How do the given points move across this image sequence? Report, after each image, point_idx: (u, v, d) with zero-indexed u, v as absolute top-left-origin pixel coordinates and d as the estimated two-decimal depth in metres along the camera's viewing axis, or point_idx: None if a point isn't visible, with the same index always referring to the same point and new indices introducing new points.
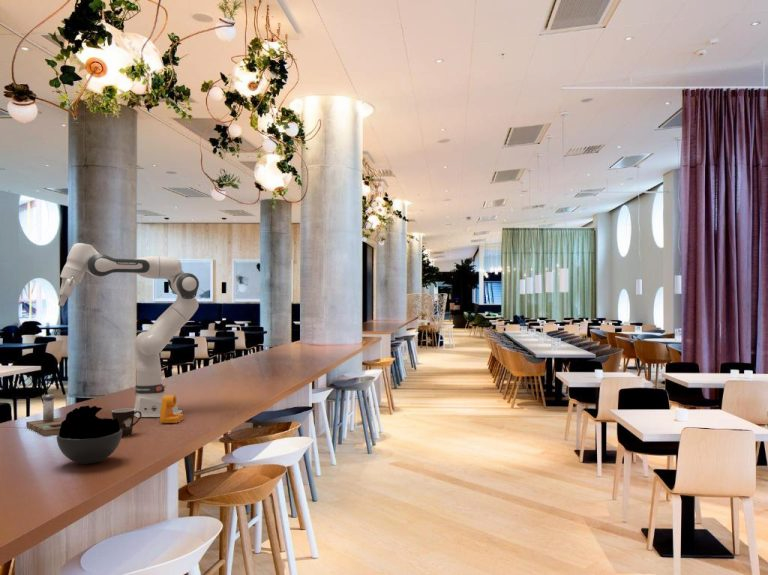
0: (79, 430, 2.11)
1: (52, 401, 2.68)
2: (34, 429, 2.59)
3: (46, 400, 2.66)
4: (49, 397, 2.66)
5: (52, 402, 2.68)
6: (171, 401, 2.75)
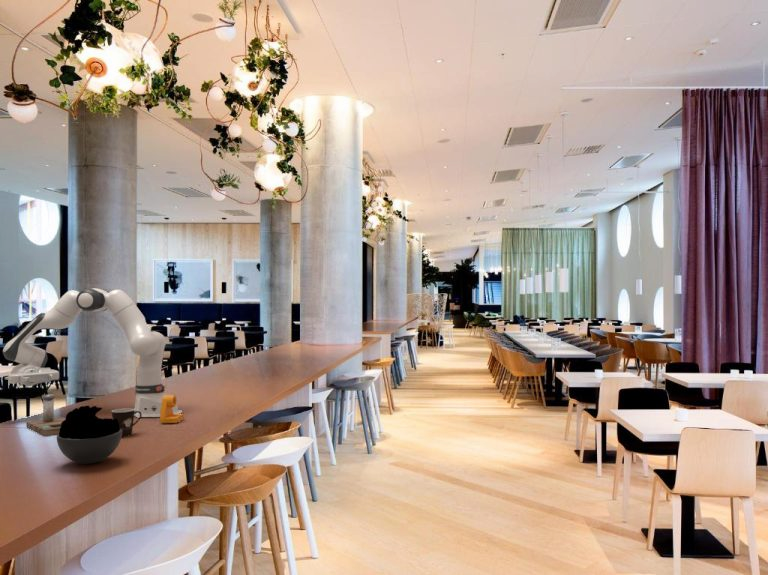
0: (79, 430, 2.11)
1: (52, 401, 2.68)
2: (34, 429, 2.59)
3: (46, 400, 2.66)
4: (49, 397, 2.66)
5: (52, 402, 2.68)
6: (171, 401, 2.75)
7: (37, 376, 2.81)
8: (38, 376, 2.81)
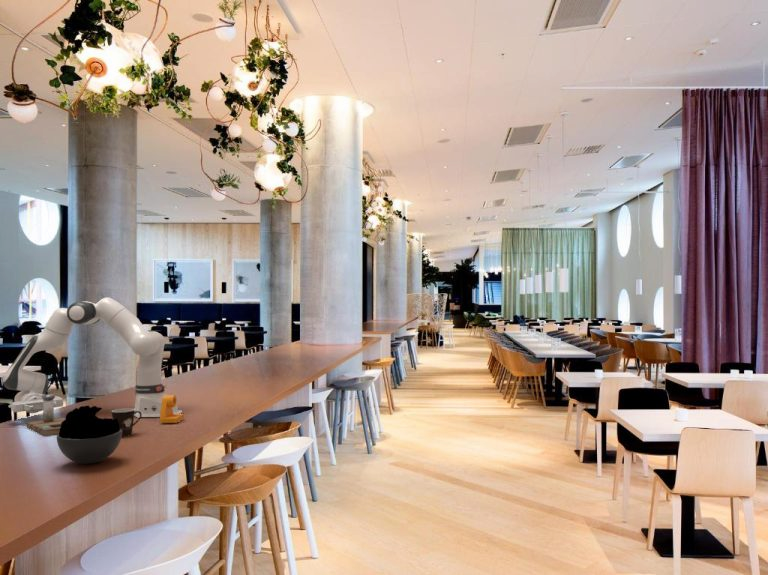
0: (79, 430, 2.11)
1: (52, 401, 2.68)
2: (34, 429, 2.59)
3: (46, 400, 2.66)
4: (49, 397, 2.66)
5: (52, 402, 2.68)
6: (171, 401, 2.75)
7: (41, 404, 2.78)
8: (42, 404, 2.78)
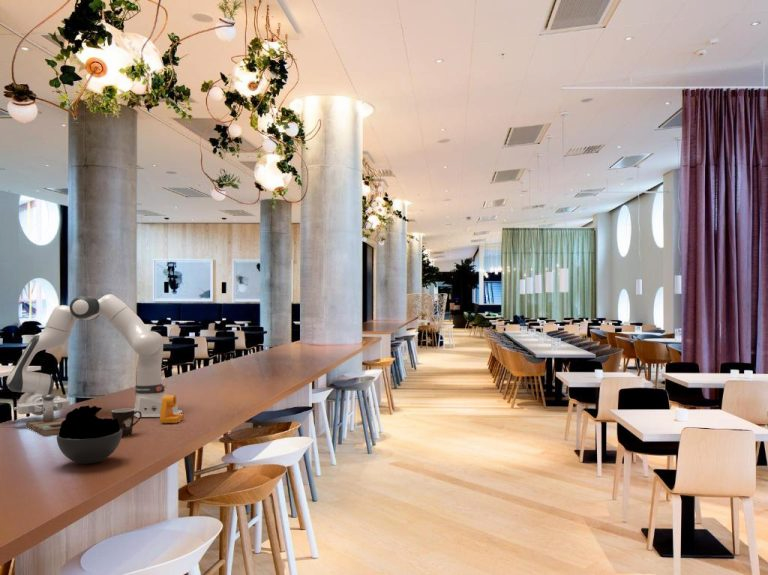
0: (79, 430, 2.11)
1: (52, 401, 2.68)
2: (34, 429, 2.59)
3: (46, 400, 2.66)
4: (49, 397, 2.66)
5: (52, 402, 2.68)
6: (171, 401, 2.75)
7: None
8: None
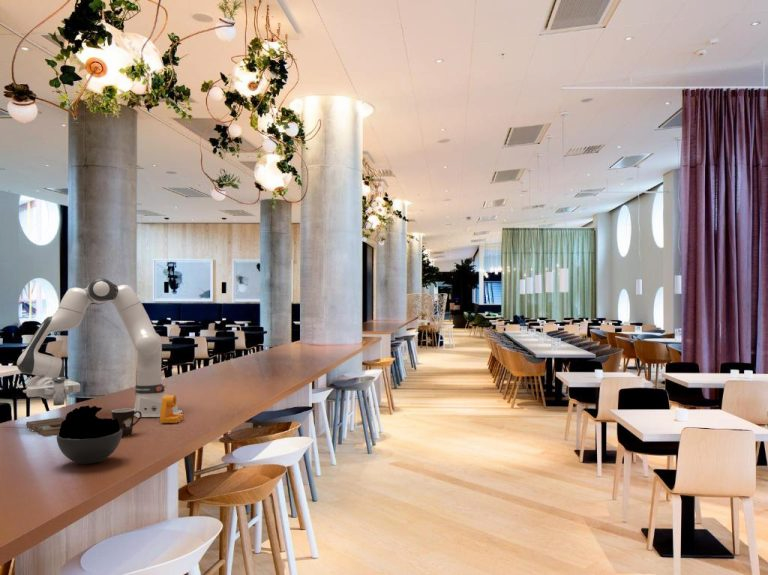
0: (79, 430, 2.11)
1: (63, 383, 2.59)
2: (34, 429, 2.59)
3: (56, 382, 2.57)
4: (60, 379, 2.57)
5: (63, 385, 2.59)
6: (171, 401, 2.75)
7: None
8: None
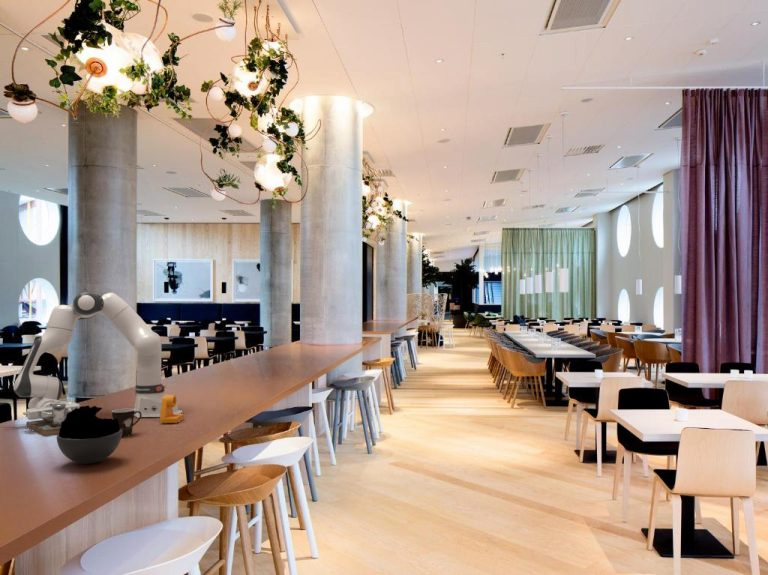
0: (79, 430, 2.11)
1: (63, 410, 2.58)
2: (34, 429, 2.59)
3: (56, 410, 2.57)
4: (60, 407, 2.57)
5: (63, 412, 2.58)
6: (171, 401, 2.75)
7: None
8: None
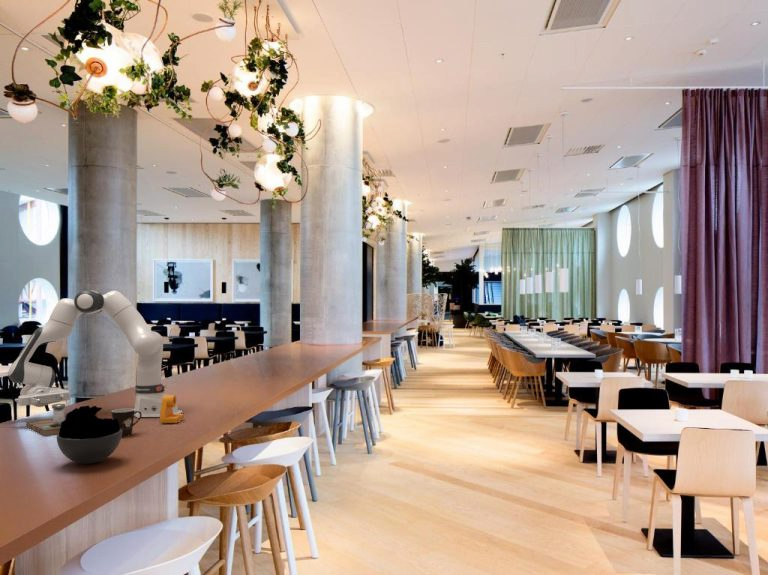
0: (79, 430, 2.11)
1: (62, 410, 2.58)
2: (34, 429, 2.59)
3: (56, 410, 2.57)
4: (60, 407, 2.57)
5: (62, 412, 2.58)
6: (171, 401, 2.75)
7: (48, 397, 2.72)
8: (49, 397, 2.72)
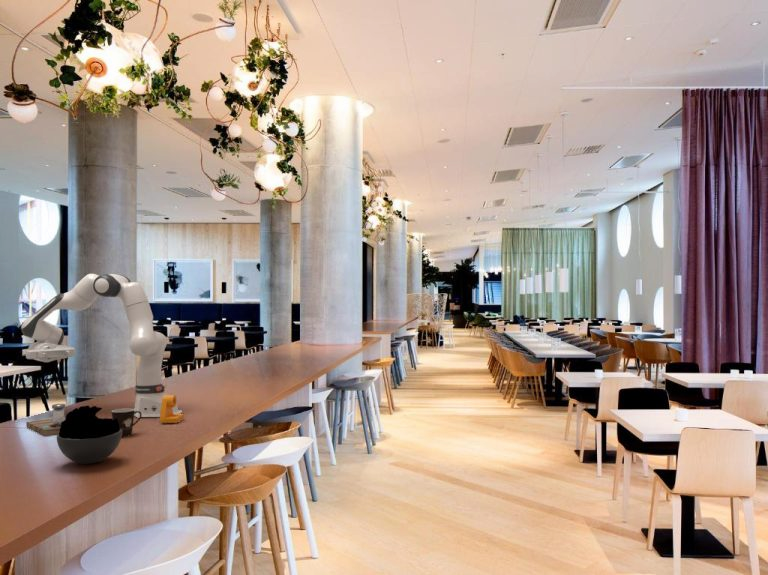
0: (79, 430, 2.11)
1: (62, 410, 2.58)
2: (34, 429, 2.59)
3: (56, 410, 2.57)
4: (60, 407, 2.57)
5: (62, 412, 2.58)
6: (171, 401, 2.75)
7: (54, 352, 2.86)
8: (55, 352, 2.87)
